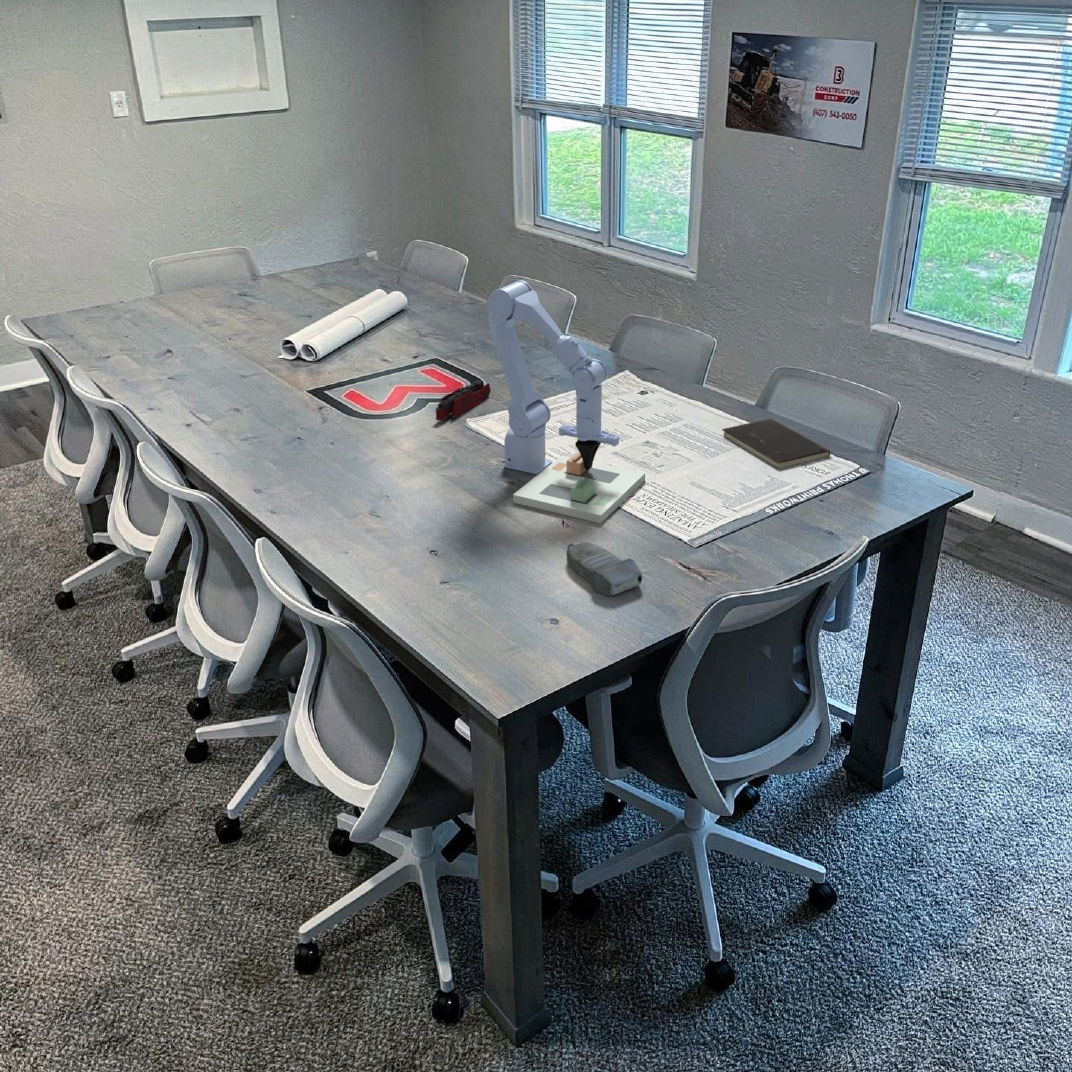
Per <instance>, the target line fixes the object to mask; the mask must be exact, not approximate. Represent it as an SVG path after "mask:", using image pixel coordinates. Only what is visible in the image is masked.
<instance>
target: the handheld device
mask: <svg viewBox="0 0 1072 1072" xmlns="http://www.w3.org/2000/svg"><path fill="white" fill-rule="evenodd" d="M566 549H567V550H566V561H567V563H568V566H569V567H570V569H571V570H572V571H574V573H576V574H578V575H580V576H581V577H583V578H584V579H586V580H587V581H590V582H591V583H592V584H591V586H592V591H594V592H595V593H598V594H599V593H600V595H604V596H614V595H617V594H620V593H623V592H625V591H627V590H630V589H633V588H635V587H638V586H640V585H641V584H642V580H643V574H642V573H643V572H642V571H641V569H640V567H639V565H638V564H637V563H636V561H635V560H634V559H633V558H630V557H629V558H626V559H621V558H619V557H618V556H617V555H616V554H614V553H612V552H610V550H607V549H606V548H604V547H602V546H600V545H597V544H595V543H592V542H589V541H582V542H579V543H570V544H568V546H567V548H566Z"/></svg>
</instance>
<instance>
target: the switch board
mask: <svg viewBox="0 0 1072 1072" xmlns="http://www.w3.org/2000/svg"><path fill="white" fill-rule="evenodd" d="M571 457H572V456H566V455H563V454H562V455H560V457H558V458H557V459H555V460H554V461H552V463H551V464H550V465H548V466H547V467H546V468H545V469H543V470H542V471H541V472H540V473H538V474H536V476H535V477H533V478H532V479H530V480H529V481H528V482H527V483H525V484H524V485H523V486H522V487H521V488H520V489H518V490H516V492H514V493H513V494H512V502H513V504H517V505H518V504H519V505H523V506H526V507H531V508H535V509H539V510H543V511H547V512H551V513H556V514H560V515H564V516H569V517H572V518H577V519H581V520H584V521H589V522H593V523H598V524H602V523H603V522H604V521H605V520H606V519H607V518H608V517H609V516H610V515H611V514H612V513H614V511H615V510H617V508H618V507H619V506H620V505H622V502H623V503H624V502H625V501H626V500H627V499H628V498H629V497H630V496H631V495H632V494H633V493H634V492H635V491H636V490H637V489H638V488H639V487H640V486H641V485H642V484H643V483H644V482H646V472H643V471H642V472H641V471H637V470H633V469H628V468H625V467H620V466H616V465H615V466H613V465H608V464H604V463H600V462H595V461H593V464H592V467H591V468H590V469H589V470H586V471H584V472H583V473H582V474H581V475H576V474H571V473H567V460H568V459H569V458H571ZM585 478H589V480H590V481H594V482H595V494H594V495H592V496H591V497H590V498H589V499H588V500H587V501H586V502H585V503H584V502H580V501H576V500H571V486H573V485H574V484H575V483H576V482H577V481H578V480H580V479H585ZM624 500H625V501H624Z"/></svg>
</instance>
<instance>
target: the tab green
mask: <svg viewBox="0 0 1072 1072" xmlns="http://www.w3.org/2000/svg"><path fill="white" fill-rule="evenodd" d="M594 494H595V482H594V481H590V480H589V478H585V479H580V480H578V481H577V482H576V483H575V484H574V485H573V486H571V500H576V501H580V502H584V503H585V502H586V501H587V500H588V499H589V498H590V497H591V496H592V495H594Z"/></svg>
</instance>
